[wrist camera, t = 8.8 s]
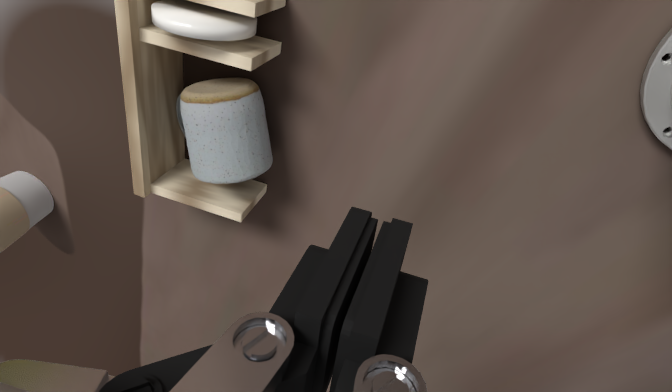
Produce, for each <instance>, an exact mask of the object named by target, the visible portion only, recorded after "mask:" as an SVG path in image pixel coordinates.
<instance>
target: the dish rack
mask: <svg viewBox="0 0 672 392" xmlns="http://www.w3.org/2000/svg"><path fill="white" fill-rule="evenodd" d="M157 1H161V0H114V2H115V12H116V21H117V31H118V41H119V51H120V60H121V71H122V80H123V90H124V100H125V109H126V118H127V119H126V120H127V129H128V138H129V149H130V159H131V169H132V178H133V188H134V194H136V195H139V196H141V197H144V198H145V197H146V196H148V195H149V194H150V193H154V194H157V195H160V196H163V197H166V198H169V199H172V200H175V201H178V202H181V203H184V204H187V205H190V206H193V207H196V208H199V209H202V210H205V211H208V212H211V213H214V214H217V215H220V216H223V217H226V218H229V219H232V220H235V221H238V222H242V221H243V219H244V218H245V217H246V216H247V215H248V213H249V212H250V211H251V210H252V209H253V207H254V206H255V205H256V204H257V203H258V201H259V200H260V199H261V198H262V197H263V195H264V194H265V193H266V190H267V184H264V183H261V182H258V181H255V180H252V179H249V180H246V181H243V182H238V183H230V184H213V183H207V182H203V181H200V180H199V179H197V178H195V176H194V175H193V173H192V169H191V164H190V160H188V159H185V142H184V134H183V132H182V130H181V128H180V125H179V122H178V118H177V111H176V102H177V98H178V96H179V95H180V94H181V93H182V91H183V53H187V54H190V55H194V56H197V57H201V58H205V59H208V60H212V61H216V62H219V63H223V64H226V65H230V66H234V67H237V68H241V69H244V70H248V71H252V70H254V69H256V68H257V67H259V66H261V65H262V64H264V63H266V62H267V61H269V60H271V59H272V58H274V57H276V56H277V55H279V54H280V53H281V44H282V42H278V41H275V40H271V39H267V38H263V37H259V36H256V35H254V36H253V37H251V38H248V39H243V40H235V41H213V40H203V39H196V38H190V37H185V36H181V35H177V34H173V33H170V32H167V31H165V30H162V29H160V28H159V27H157V26H156V25H154V24H153V22H152V13H151V5H152V4H153V3H154V2H157ZM188 1H192V2H196V3H200V4H203V5H207V6H211V7H215V8H219V9H223V10H227V11H231V12H234V13H238V14H242V15H246V16H250V17H254V18H255V17H258V16H260V15H263V14H266V13H269V12H271V11H274V10H277V9H279V8H282V7H285V5H286V0H188Z"/></svg>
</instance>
